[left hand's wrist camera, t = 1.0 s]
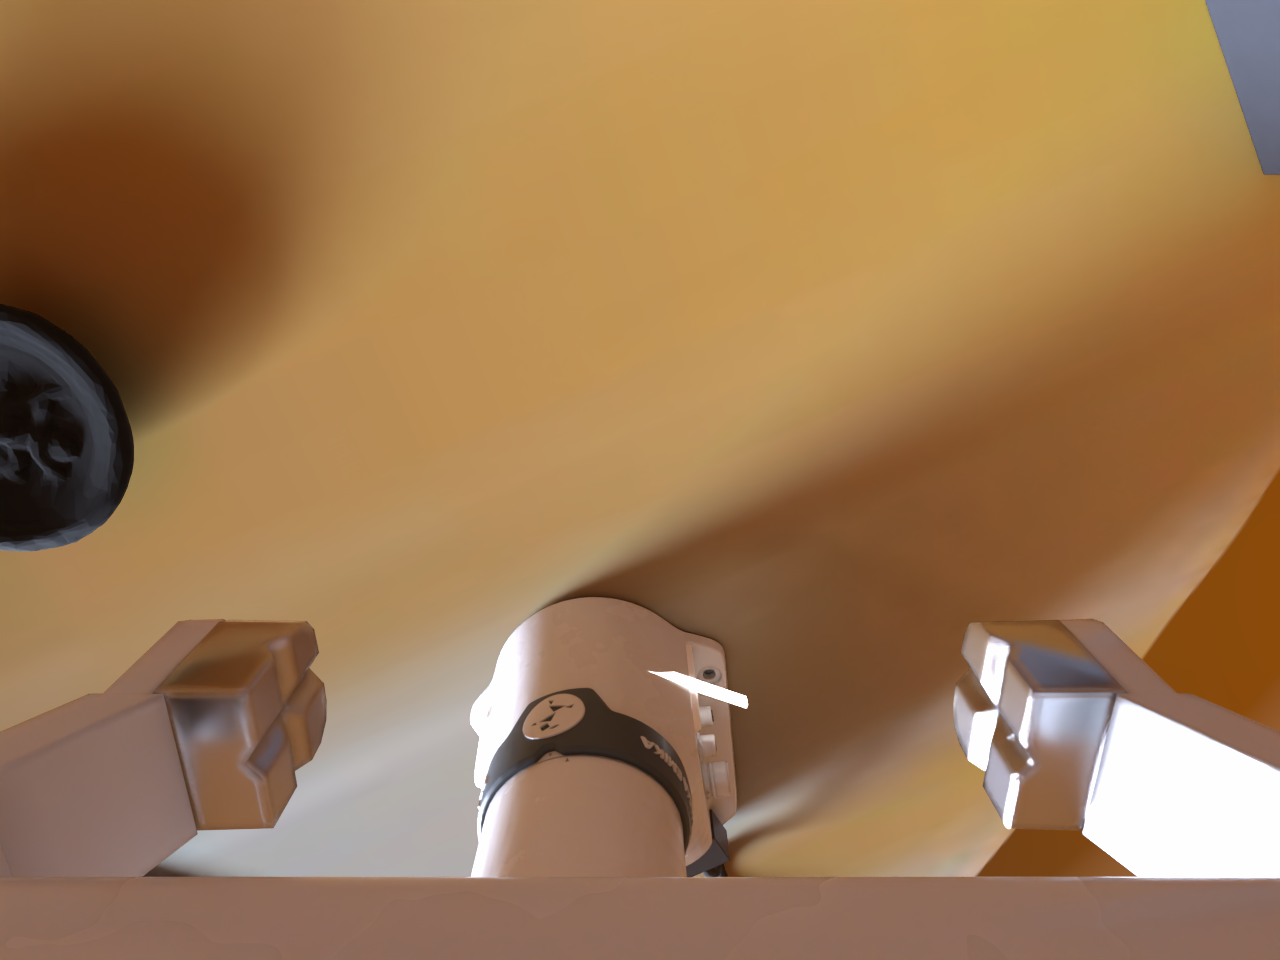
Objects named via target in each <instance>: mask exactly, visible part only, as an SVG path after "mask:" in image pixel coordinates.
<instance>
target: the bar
mask: <svg viewBox="0 0 1280 960" xmlns="http://www.w3.org/2000/svg"><path fill="white" fill-rule="evenodd" d="M1205 1H1206V4H1207V7H1208V10H1209V13H1210V16H1211V19H1212V22H1213V25H1214V28H1215V31H1216V34H1217V37H1218V40H1219V43H1220V46H1221V48H1222V51H1223V54H1224V57H1225V60H1226V63H1227V66H1228V69H1229V72H1230V75H1231V78H1232V81H1233V84H1234V87H1235V90H1236V93H1237V96H1238V99H1239V102H1240V105H1241V108H1242V111H1243V114H1244V117H1245V120H1246V123H1247V126H1248V129H1249V132H1250V135H1251V138H1252V141H1253V144H1254V147H1255V149H1256V152H1257V155H1258V158H1259V161H1260V164H1261V167H1262V170H1263V173H1264V174H1266V175H1280V0H1205Z"/></svg>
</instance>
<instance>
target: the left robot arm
mask: <svg viewBox="0 0 1280 960" xmlns="http://www.w3.org/2000/svg"><path fill="white" fill-rule="evenodd" d="M318 653H319V650H318V645H317V640H316V636H315V631H314V628H313V627H312V626H311V625H310V624H309V623H308V622H307V621H267V620H224V619H202V620H185V621H178V622H177V623H176V624H175V625H174V626H173V627H172V628H171V629H170V630H169V631H168V632H167V633H166V634H165V635H164V636H163V637H162V638H161V639H159V640H158V641H157V642H156V643H155V644H154V645H153V646H152V647H151V648H150V649H149V650H148V651H147V652H146V653H145V654H144V655H143V656H142V657H141V658H140V659H139V660H138V661H136V662H135V663H134V664H133V665H132V666H131V667H130V668H129V669H128V670H127V671H126V672H125V673H124V674H123V675H122V676H121V677H120V678H119V679H118V680H117V681H116V682H115V683H113V684H112V685H111V686H110V687H109V688H108V689H107V690H106V691H105V692H104V693H103V694H88V695H85V696H83V697H81V698H78V699H76V700H74V701H71V702H69V703H66V704H64V705H62V706H59V707H57V708H55V709H52V710H50V711H48V712H45V713H43V714H41V715H38V716H36V717H34V718H31V719H29V720H27V721H24V722H22V723H20V724H17V725H15V726H13V727H10V728H8V729H6V730H3V731H1V732H0V960H1280V732H1279V731H1276V730H1274V729H1272V728H1269V727H1267V726H1265V725H1262V724H1260V723H1258V722H1255V721H1253V720H1251V719H1248V718H1246V717H1244V716H1241V715H1239V714H1237V713H1234V712H1232V711H1230V710H1227V709H1225V708H1223V707H1220V706H1218V705H1216V704H1213V703H1211V702H1209V701H1206V700H1204V699H1202V698H1200V697H1197V696H1195V695H1192V694H1177V693H1176V692H1175V691H1174V690H1173V689H1172V688H1171V687H1170V686H1169V685H1168V684H1167V683H1165V681H1163V680H1162V679H1161V678H1160V677H1159V676H1158V675H1157V674H1156V673H1155V672H1154V671H1153V670H1152V669H1151V668H1150V667H1149V666H1148V665H1147V664H1146V663H1145V662H1144V661H1143V660H1142V659H1141V658H1140V657H1138V656H1137V655H1136V654H1135V653H1134V652H1133V651H1132V650H1131V649H1130V648H1129V647H1128V646H1127V645H1126V644H1125V643H1124V642H1123V641H1122V640H1121V639H1120V638H1119V637H1118V636H1117V635H1116V634H1115V633H1113V632H1112V631H1111V630H1110V629H1109V628H1108V627H1107V626H1106V625H1105V624H1104V623H1103V622H1100V621H1097V620H1094V619H1075V620H1038V621H997V622H974V623H970V624H969V626H968V628H967V630H966V632H965V634H964V639H963V645H962V650H961V653H962V655H963V656H964V658H965V659H966V661H967V662H968V664H969V666H970V667H971V668H970V670H969V671H968V672H967V673H966V674H965V675H964V676H963V677H962V678H961V679H960V680H959V681H958V682H957V683H956V688H955V696H954V704H953V711H954V721H955V730H956V733H957V736H958V740H959V743H960V746H961V747H962V749H963V751H964V753H965V755H966V757H967V759H968V760H969V761H971V762H972V763H974V764H975V765H977V766H978V767H980V768H982V769H983V770H985V777H984V783H983V787H984V789H985V791H986V793H987V794H988V796H989V798H990V800H991V801H992V803H993V805H994V807H995V808H996V810H997V812H998V814H999V815H1000V817H1001V819H1002V821H1003V822H1004V824H1005V826H1006V828H1017V829H1054V830H1083V833H1082V834H1083V835H1085V836H1086V837H1087V838H1089V839H1090V840H1091V841H1093V842H1094V843H1095V844H1096V845H1098V846H1099V847H1100V848H1102V849H1103V850H1104V851H1105V852H1107V853H1108V854H1109V855H1111V856H1112V857H1113V858H1115V859H1116V860H1117V861H1118V862H1120V863H1121V864H1122V865H1124V866H1125V867H1126V868H1128V869H1129V870H1130V871H1131V872H1133V873H1134V874H1135V875H1137V876H1138V877H728V876H727V873H726V871H725V868H724V865H723V863H725V862H728V861H730V855H729V847H728V840H727V832H726V830H725V828H724V827H723V824H724V823H726V822H727V821H728V820H729V819H730V818H731V817H732V816H733V815H734V814H735V813H736V811H737V789H736V777H735V765H734V754H733V742H732V730H731V719H730V707H729V703H732V704H735V705H737V706H740V707H743V708H747V706H748V702H747V697H746V696H744V695H741V694H738V693H735V692H732V691H729V690H728V684H727V672H726V661H725V652H724V649H723V647H722V646H721V645H720V644H719V643H718V642H716V641H714V640H712V639H709V638H706V637H703V636H699V635H695V634H691V633H686V632H683V631H681V630H679V629H677V628H676V627H674V626H672V625H671V624H670V623H668V622H667V621H665V620H664V619H663V618H661V617H660V616H658V615H657V614H655V613H653V612H651V611H650V610H648V609H646V608H643V607H641V606H639V605H636V604H633V603H630V602H627V601H623V600H619V599H613V598H604V597H584V598H576V599H571V600H566V601H562V602H559V603H556V604H553V605H551V606H548V607H546V608H544V609H542V610H540V611H538V612H537V613H535V614H533V615H532V616H530V617H529V618H528V619H526V620H525V621H524V622H523V623H522V624H521V625H519V626H518V627H517V629H516V630H515V631H514V632H513V633H512V634H511V636H510V637H509V638H508V640H507V641H506V643H505V645H504V647H503V648H502V651H501V653H500V655H499V658H498V661H497V665H496V669H495V673H494V676H493V679H492V681H491V684H490V685H489V686H488V687H487V688H486V689H485V690H484V692H483V693H482V694H481V695H480V696H479V697H478V699H477V700H476V701H475V703H474V704H473V707H472V710H471V716H470V722H471V725H472V727H473V728H474V730H475V731H476V732H477V734H478V735H479V736H480V739H479V746H478V752H477V759H476V766H475V773H474V779H475V784H476V786H477V787H480V788H481V794H480V798H479V806H478V809H479V812H478V820H477V833H478V840H479V845H478V850H477V854H476V858H475V862H474V866H473V870H472V875H471V877H142V876H144V875H145V874H146V873H148V872H149V871H150V870H151V869H153V868H154V867H155V866H157V865H158V864H159V863H161V862H162V861H163V860H164V859H166V858H167V857H168V856H170V855H171V854H172V853H174V852H175V851H176V850H177V849H179V848H180V847H181V846H183V845H184V844H185V843H187V842H188V841H189V840H190V839H192V838H193V837H194V836H196V835H197V830H225V829H261V828H274V826H275V824H276V823H277V821H278V819H279V817H280V816H281V814H282V812H283V810H284V809H285V807H286V805H287V803H288V801H289V800H290V798H291V796H292V794H293V793H294V791H295V789H296V787H297V782H296V777H295V770H297V769H298V768H300V767H302V766H303V765H305V764H306V763H308V762H309V761H311V760H312V759H313V757H314V755H315V753H316V751H317V749H318V747H319V745H320V743H321V740H322V736H323V732H324V727H325V723H326V704H327V700H326V694H325V687H324V683H323V682H322V681H321V680H320V679H319V678H318V677H317V676H316V675H315V674H314V673H313V672H312V671H311V669H310V668H309V667H310V666H311V664H312V662H313V661H314V659H315V658H316V656H317V655H318ZM709 669H710V670H713V672H712V673H711V674H706V673H704V671H706V670H709ZM700 873H703V874H704V875H705V876H706V877H693V876H695V875H698V874H700Z"/></svg>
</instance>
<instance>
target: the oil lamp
mask: <svg viewBox="0 0 1280 960" xmlns="http://www.w3.org/2000/svg"><path fill="white" fill-rule="evenodd" d="M133 462H134V443H133V436H132V431H131V427H130V424H129V420H128V417H127V415H126V412H125V409H124V406H123V403H122V400H121V398H120V395H119V392H118V390H117V388H116V387H115V385H114V384H113V382H112V381H111V380H110V378H109V377H108V376H107V374H106V373H105V372H104V370H103V369H102V368H101V366H100V365H99V364H98V362H97V361H96V360H95V359H94V357H93V356H92V355H91V354H90V353H89V352H88V350H87V349H86V348H85V347H84V346H83V345H82V344H80V343H79V342H78V341H76V340H75V339H74V338H73V337H72V336H70V335H69V334H67V333H66V332H65V331H63V330H61V329H60V328H58V327H57V326H55V325H54V324H52V323H51V322H49V321H47V320H46V319H44V318H43V317H41V316H39V315H37V314H34V313H32V312H28V311H25V310H21V309H18V308H15V307H11V306H8V305H4V304H0V550H6V551H37V550H44V549H49V548H55V547H60V546H64V545H67V544H70V543H74V542H77V541H78V540H80V539H81V538H83V537H85V536H87V535H88V534H90V533H92V532H93V531H94V530H96V529H97V528H98V527H100V526H101V525H103V524H104V523H105V522H106V521H107V520H108V518H109V517H110V516H111V515H112V514H113V512H114V511H115V509H116V508H117V506H118V505H119V504H120V502H121V500H122V498H123V496H124V494H125V492H126V489H127V487H128V483H129V480H130V477H131V474H132V469H133Z"/></svg>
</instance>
